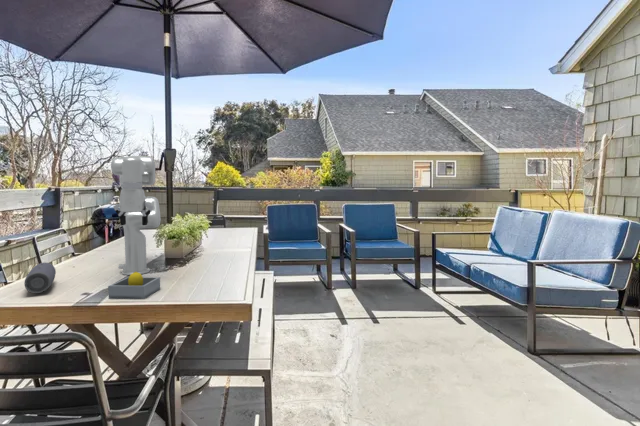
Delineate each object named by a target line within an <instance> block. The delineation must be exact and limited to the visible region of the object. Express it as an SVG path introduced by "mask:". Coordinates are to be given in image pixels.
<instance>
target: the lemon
mask: <svg viewBox="0 0 640 426" xmlns="http://www.w3.org/2000/svg"><path fill="white" fill-rule="evenodd" d="M128 277H129V279H128V285H129V286H142V285H143V277H144V276H143V274H140V273H138V272H134V273H132V274H131V275H128Z"/></svg>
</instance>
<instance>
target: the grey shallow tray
mask: <svg viewBox="0 0 640 426" xmlns="http://www.w3.org/2000/svg"><path fill="white" fill-rule="evenodd" d="M142 277H143V285H142V286H129V285H128V279H129V276H126V277H124V278H123V279H121V280H118V281H116V282H114V283H111V284H109V285H108V286H107V287H108V288H107V290H108V292H107V293H108V299H110V300H111V299H112V300H115V299H116V300H119V299H121V300H123V299H124V300H146V299H147V298H148V297H150V296H151V295H153V294H155V293H156V292H158V291H159V290H161V277H159V276H158V277H157V276H155V277H151V276H150V277H147V276H142Z"/></svg>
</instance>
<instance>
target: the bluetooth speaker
mask: <svg viewBox="0 0 640 426" xmlns="http://www.w3.org/2000/svg"><path fill="white" fill-rule="evenodd" d="M56 273H57V272H56V268H55V266H54V265H53V264H51V263H50V262H41V263H38V264H36V265H35V266H33V268H31V270H30V271H29V272H28V273H27V275H26V277H25V278H24V282H23V283H24V288H25V289H26V290H27V292H29V293H32V294H41V293H44V292H45V291H47V290H48V289H49V288H50V286H52V284H53V282H54V281H55V278H56ZM43 291H44V292H43Z"/></svg>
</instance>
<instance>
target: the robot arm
mask: <svg viewBox="0 0 640 426" xmlns="http://www.w3.org/2000/svg"><path fill="white" fill-rule="evenodd" d="M110 170H111V173H112V174H113V175H115V176H119V184H120V188H121V190H120V193H119V202H118V203H116V204H115V205H113V207H112V208H113V209H114V211H115V213H116V214H117V215H118V217H119V223H120V226H122V228H123V234H124V259H125V263H124V264H123V263H121V264H118V266H117V267H118V269H123V270H122V275H126V276H130V275H131V274H132V273H134V272H138V273H140V274H141V275H144V274H147V273H150V272H151V269H150V268H149V267H148V266H147V265H148V264H147V238H146V235H145V234H144V233H143V231H141V230H142V229H156V228H159V227H160V225H161V221H162V219H161V210H160V203H159V202H160V201H159V199H158V198H157V197H156V196H152V195H151V196H150V195H148V196H146V193H145V189H143V186H144V187H145V186H153V185H154V184H155V182H156V162H155V159H154V158H153V157H151V156H145V155H143V156H141V155H130V156H123V157H114V158H113V159H112V160H111V163H110Z"/></svg>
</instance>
